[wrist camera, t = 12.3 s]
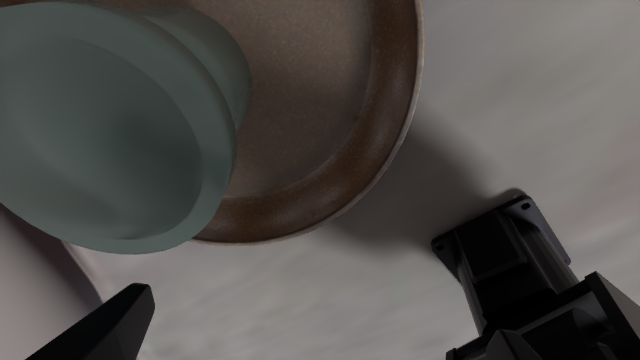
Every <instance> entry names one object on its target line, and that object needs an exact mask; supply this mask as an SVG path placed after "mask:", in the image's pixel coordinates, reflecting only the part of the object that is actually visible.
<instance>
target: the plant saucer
mask: <svg viewBox="0 0 640 360" xmlns="http://www.w3.org/2000/svg"><path fill="white" fill-rule="evenodd" d="M43 1H51V0H0V8H1V7H7V6H14V5H20V4H28V3H36V2H43ZM92 1H99V2H104V3H107V4H111V5H115V6H118V7H121V8H124V9H126V10H129V11H132V10H137V9H141V8H145V7H150V6H154V5H161V4H175V5H182V6H186V7H190V8H193V9H195V10H198V11H200V12H202V13H204V14H206V15H208V16H209V17H211V18H213V19H214V20H215V21H217V22H218V23H219V24H221V25H222V26H223V27H224V28H225V29H226V30H227V31H228V32H229V33H230V34H231V35H232V37H233V38H234V39H235V40H236V42H237V43H238V45H239V46H240V48H241V49H242V51H243V53H244V55H245V57H246V60H247V62H248V65H249V68H250V73H251V78H252V98H251V103H250V106H249V109H248V112H247V114H246V116H245V118H244V119H243V121H242V123H241V125H240V127H239V128H238V130H237V132H236V138H237V157H236V164H235V169H234V172H233V175H232V178H231V181H230V183H229V185H228V187H227V189H226V192H225V194H224V196H223V198H222V200H221V202H220V205H219V207H218V208H217V210H216V212H215V214H214V216H213V217H212V219H211V220H210V221H209V223H208V224H207V225H206V226H205V227H204V228H203V229H202V230H201V231H200V232H199V233H198V234H197V235H195V236H194V237H192V238H191V239H189V240H188V241H189V242H194V243H199V244H205V245H215V246H255V245H262V244H269V243H274V242H278V241H283V240H287V239H291V238H294V237H297V236H300V235H303V234H305V233H308V232H310V231H313V230H315V229H317V228H319V227H321V226H323V225H325V224H327V223H328V222H330V221H332V220H333V219H335V218H337V217H338V216H340V215H341V214H343V213H344V212H346V211H347V210H348V209H350V208H351V207H352V206H353V205H354V204H356V203H357V202H358V201H359V200H360V199H361V198H362V197H363V196H365V195H366V194H367V193H368V192H369V191H370V189H371V188H372V187H373V186H374V185H375V184H376V183H377V181H378V180H379V179H380V178H381V176H382V175H383V174H384V172H385V171H386V169H387V168H388V167H389V165H390V164H391V162H392V161H393V159H394V157H395V155H396V153H397V152H398V150H399V148H400V147H401V145H402V142H403V140H404V138H405V136H406V134H407V131H408V129H409V126H410V124H411V121H412V118H413V115H414V112H415V108H416V104H417V100H418V96H419V91H420V86H421V79H422V71H423V62H424V49H425V45H424V20H423V9H422V2H421V0H92Z"/></svg>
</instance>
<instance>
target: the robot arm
mask: <svg viewBox="0 0 640 360" xmlns="http://www.w3.org/2000/svg"><path fill="white" fill-rule="evenodd" d="M524 203H527V204H526V205H524V206H521V205H522V204H524ZM437 245H441V246H437ZM431 247H432V250H433V252H434V253H435V254H436V255H437V256H438V257H439V259H440V260H441V261H442V262H443V263H444V264H445V266H446V267H447V268H448V269H449V270H450V271H451V272H452V274H453V275H454V276H455V277H456V278H457V279H458V281H459V282H460V283H461V284H462V286H463V289H464V292H465V295H466V298H467V301H468V304H469V307H470V310H471V313H472V316H473V319H474V322H475V325H476V328H477V331H478V334H479V337H478V338H476V339H474V340H472V341H470V342H468V343H467V344H465V345H463V346H461V347H459V348H457V349H456V348H453V349H452V350H450V351H448V352H446V360H640V306H638V305H637V304H636V303H635V302H633V301H632V300H631V299H630V298H629V297H627V296H626V295H625V294H624V293H622V292H621V291H620V290H619V289H618V288H616V287H615V286H614V285H613V284H611V283H610V282H609V281H608V280H607V279H605V278H604V277H603V276H602V275H600V274H599V273H598V272H597V271H595V272H593V273H591V274H589V275H587V276H585V280H583V281H581V282H579V280H578V279H577V278H576V276H575V275H574V273H573V272H572V270H571V269H570V268H569V266H568V265H569V264H570V263H571V260H570V258H569V256H568V255H567V253H566V252H565V250H564V248H563V247H562V245H561V244H560V242H559V240H558V239H557V237H556V236H555V234H554V233H553V231H552V229H551V228H550V226H549V225H548V223H547V221H546V220H545V218H544V217H543V215H542V214H541V212H540V210H539V209H538V207H537V206H536V204H535V202H534V201H533V200H532V198H531V197H529V196H527V195H523V196H520V197H518V198H516V199H514V200H512V201H509V202H507V203H505V204H503V205H501V206H499V207H497V208H495V209H493V210H491V211H489V212H487V213H485V214H483V215H481V216H479V217H477V218H475V219H473V220H471V221H469V222H467V223H465V224H463V225H461V226H459V227H457V228H455V229H453V230H451V231H449V232H447V233H445V234H443V235H441V236H439V237H437V238H435V239H433V240H432V242H431ZM154 310H155V303H154V299H153V295H152V291H151V287H150V286H149V285H148V284H142V283H132V284H130V285H129V286H127V287H126V288H124V289H123V290H122V291H120V292H119V293H117V294H116V295H115V296H113V297H112V298H110V299H109V300H108V301H106V302H105V303H103V304H102V305H101V306H100V307H98V308H97V309H95V310H94V311H92V312H91V313H89V314H88V315H87V316H85V317H84V318H82V319H81V320H80V321H79V322H77V323H76V324H74V325H73V326H71V327H70V328H69V329H67V330H66V331H64V332H63V333H62V334H60V335H59V336H57V337H56V338H55V339H53V340H52V341H50V342H49V343H48V344H46V345H45V346H43V347H42V348H41V349H39V350H38V351H36V352H35V353H34V354H32V355H31V356H30V357H28V358H27V359H25V360H136V357H137V355H138V352H139V350H140V347H141V345H142V342H143V340H144V337H145V334H146V332H147V329H148V327H149V324H150V322H151V319H152V316H153V314H154Z"/></svg>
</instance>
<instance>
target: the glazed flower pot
mask: <svg viewBox="0 0 640 360" xmlns="http://www.w3.org/2000/svg"><path fill="white" fill-rule="evenodd" d="M251 98H252V78H251V73H250V68H249V65H248V62H247V60H246V57H245V55H244V53H243V51H242V49H241V48H240V46H239V45H238V43H237V42H236V40H235V39H234V38H233V37H232V35H231V34H230V33H229V32H228V31H227V30H226V29H225V28H224V27H223V26H222V25H221V24H219V23H218V22H217V21H215V20H214V19H213V18H211V17H209V16H208V15H206V14H204V13H202V12H200V11H198V10H195V9H193V8H190V7H186V6H182V5H175V4H161V5H154V6H150V7H145V8H141V9H137V10H132V11H129V10H126V9H124V8H121V7H118V6H115V5H111V4H107V3H104V2H99V1H92V0H51V1H43V2H36V3H28V4H20V5H14V6H7V7H1V8H0V202H1V203H2V204H3V205H5V206H6V207H7V208H9V209H10V210H11V211H12V212H14V213H15V214H16V215H18V216H19V217H21V218H22V219H24V220H25V221H27V222H28V223H30V224H32V225H33V226H35V227H37V228H39V229H40V230H42V231H44V232H46V233H48V234H50V235H52V236H55V237H57V238H59V239H61V240H64V241H66V242H69V243H72V244H74V245H77V246H81V247H84V248H88V249H91V250H96V251H101V252H106V253H115V254H148V253H154V252H159V251H164V250H167V249H170V248H173V247H176V246H178V245H180V244H182V243H184V242H186V241H188V240H189V239H191V238H192V237H194V236H195V235H197V234H198V233H199V232H200V231H201V230H202V229H203V228H204V227H205V226H206V225H207V224H208V223H209V221H210V220H211V219H212V217H213V216H214V214H215V212H216V210H217V208H218V207H219V205H220V202H221V200H222V198H223V196H224V194H225V192H226V189H227V187H228V185H229V183H230V181H231V178H232V175H233V172H234V169H235V164H236V157H237V138H236V132H237V130H238V128H239V127H240V125H241V123H242V121H243V119H244V118H245V116H246V114H247V112H248V109H249V106H250V103H251Z"/></svg>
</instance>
